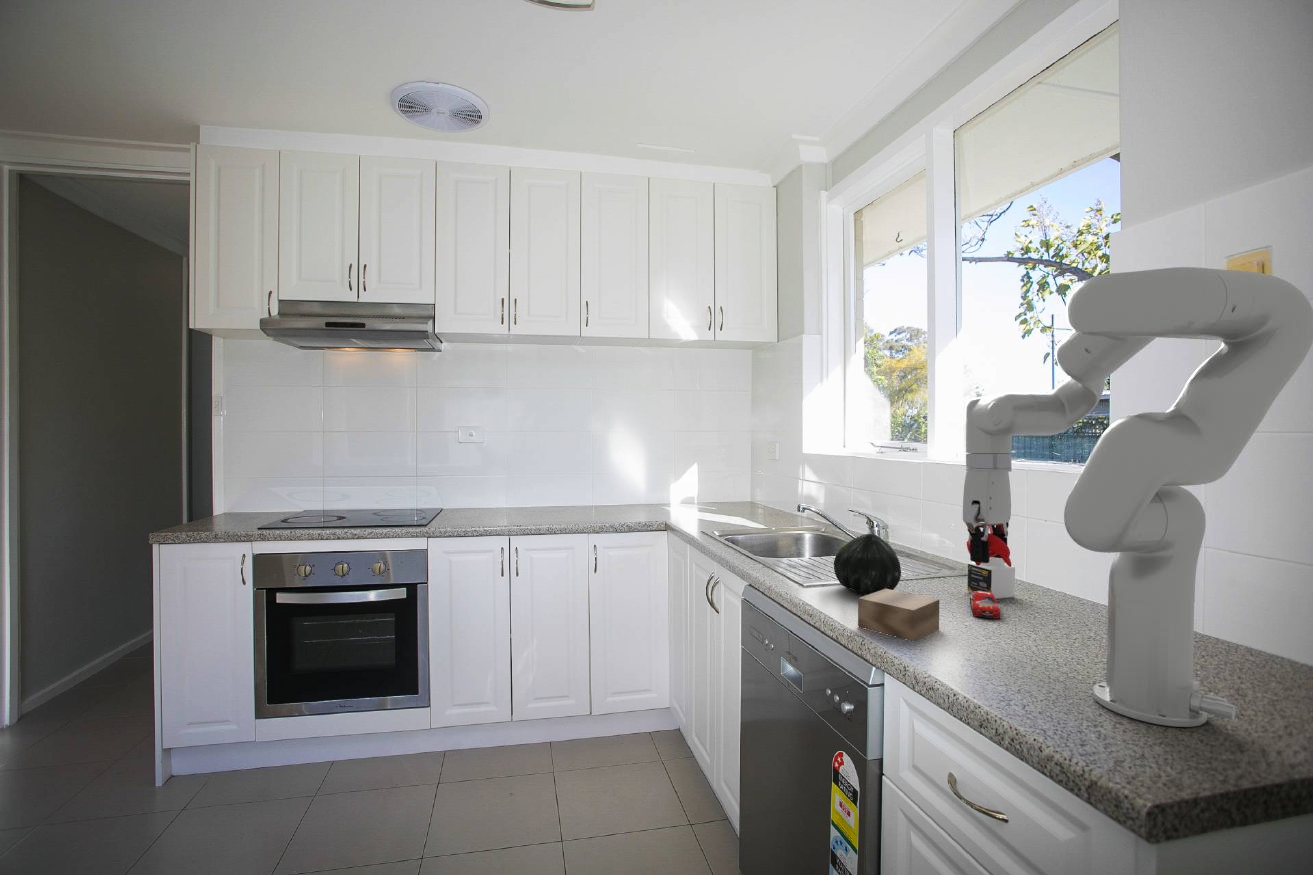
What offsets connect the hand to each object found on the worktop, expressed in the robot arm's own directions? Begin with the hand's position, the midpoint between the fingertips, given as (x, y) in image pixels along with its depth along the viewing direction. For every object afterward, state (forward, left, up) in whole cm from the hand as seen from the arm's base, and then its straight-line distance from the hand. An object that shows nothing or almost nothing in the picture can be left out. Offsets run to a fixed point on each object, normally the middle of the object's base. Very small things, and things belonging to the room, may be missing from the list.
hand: (989, 558), depth 118 cm
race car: (+8, -17, -15) cm, 25 cm away
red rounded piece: (0, 0, -1) cm, 1 cm away
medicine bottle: (+14, -32, -15) cm, 38 cm away
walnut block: (+13, +8, -15) cm, 22 cm away
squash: (+33, -11, -15) cm, 38 cm away
